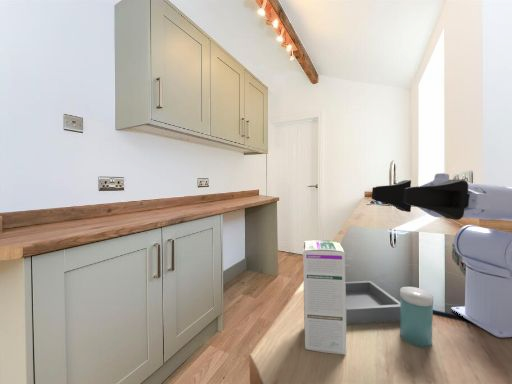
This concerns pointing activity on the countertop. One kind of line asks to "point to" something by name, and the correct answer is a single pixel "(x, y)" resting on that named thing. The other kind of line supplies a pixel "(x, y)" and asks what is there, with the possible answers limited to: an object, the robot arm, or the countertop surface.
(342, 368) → the countertop surface
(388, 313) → the tray
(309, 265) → the syrup box
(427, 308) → the shaker
